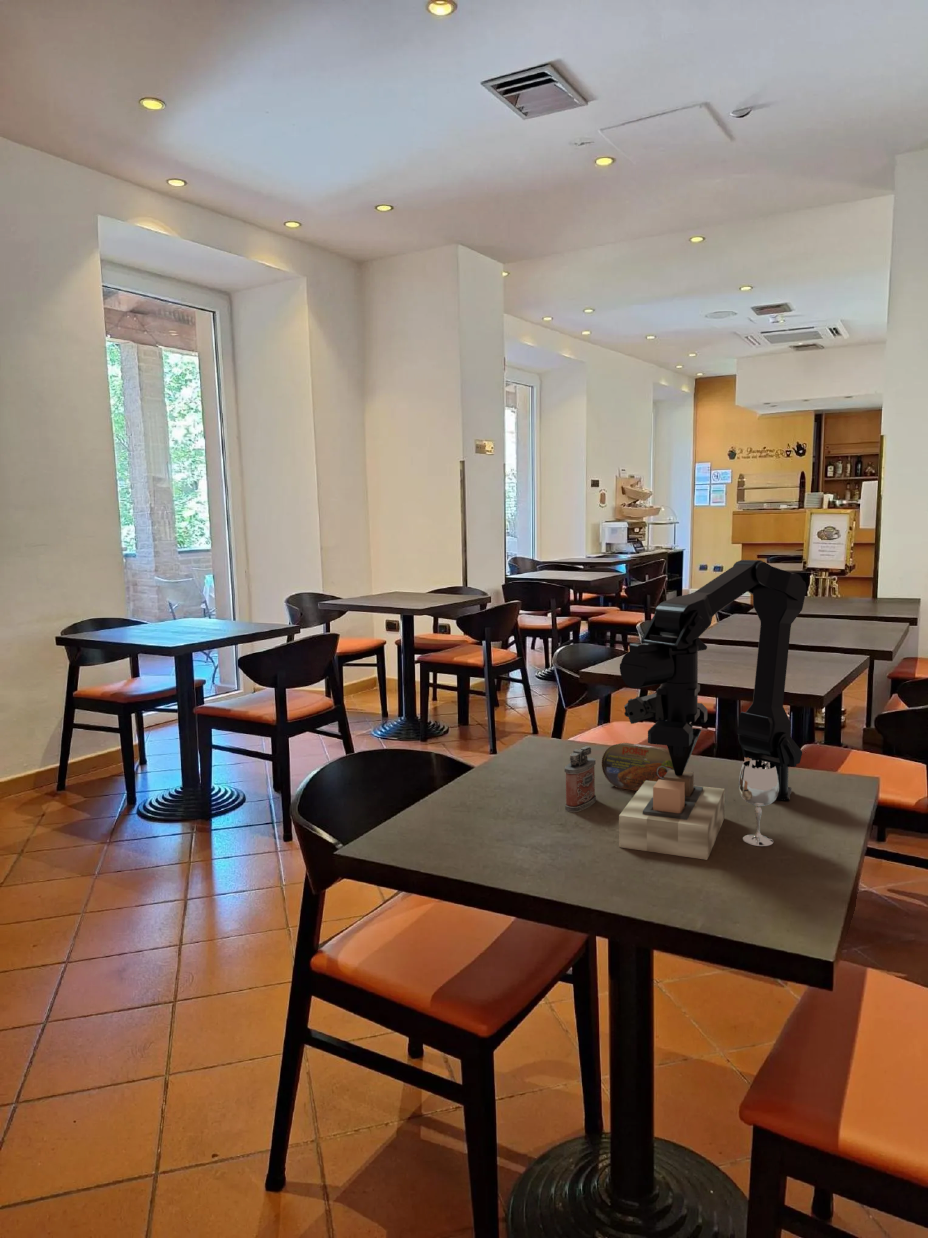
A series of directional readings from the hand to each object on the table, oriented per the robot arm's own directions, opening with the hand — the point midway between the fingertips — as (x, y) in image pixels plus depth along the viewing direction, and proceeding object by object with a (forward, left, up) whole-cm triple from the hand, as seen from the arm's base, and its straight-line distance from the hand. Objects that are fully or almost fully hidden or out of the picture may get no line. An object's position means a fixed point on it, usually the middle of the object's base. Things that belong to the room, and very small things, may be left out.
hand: (679, 774), depth 132 cm
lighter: (-3, -18, -8) cm, 20 cm away
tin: (-15, -10, -8) cm, 20 cm away
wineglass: (+3, +12, -8) cm, 15 cm away
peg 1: (0, 0, -6) cm, 6 cm away
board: (+4, 0, -8) cm, 9 cm away
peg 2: (+8, 0, -5) cm, 9 cm away
